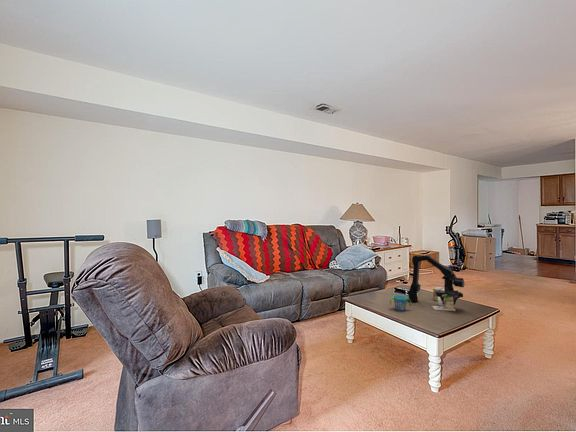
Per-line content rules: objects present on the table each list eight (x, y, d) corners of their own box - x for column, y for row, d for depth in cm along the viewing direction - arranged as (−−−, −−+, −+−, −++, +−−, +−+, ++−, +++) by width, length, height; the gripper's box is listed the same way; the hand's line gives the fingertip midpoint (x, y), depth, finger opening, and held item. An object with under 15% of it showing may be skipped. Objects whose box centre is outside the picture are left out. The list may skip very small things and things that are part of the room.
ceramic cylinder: (438, 305, 226) (438, 298, 226) (437, 304, 230) (437, 296, 229) (444, 305, 225) (444, 298, 225) (442, 304, 229) (442, 297, 229)
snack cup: (409, 308, 221) (409, 295, 221) (412, 312, 211) (412, 299, 211) (389, 306, 225) (389, 294, 225) (390, 311, 215) (390, 298, 215)
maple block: (444, 306, 221) (444, 299, 220) (450, 306, 220) (451, 299, 219) (446, 308, 216) (446, 301, 215) (453, 309, 215) (453, 301, 214)
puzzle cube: (437, 297, 246) (437, 286, 246) (449, 300, 239) (449, 288, 239) (433, 300, 239) (433, 288, 239) (446, 303, 232) (446, 291, 232)
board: (434, 310, 216) (434, 308, 216) (431, 306, 223) (431, 305, 223) (455, 311, 213) (455, 309, 213) (452, 307, 221) (452, 306, 221)
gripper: (439, 287, 211) (439, 307, 211) (466, 288, 208) (466, 309, 208) (434, 283, 222) (434, 303, 222) (459, 284, 219) (460, 304, 219)
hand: (448, 304), depth 218 cm, fingers open, 7 cm apart
